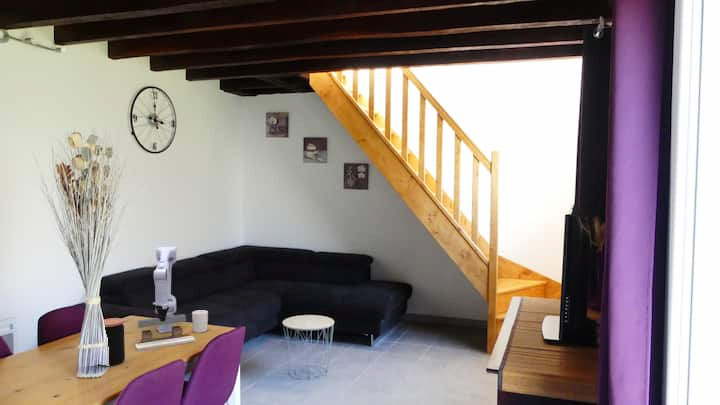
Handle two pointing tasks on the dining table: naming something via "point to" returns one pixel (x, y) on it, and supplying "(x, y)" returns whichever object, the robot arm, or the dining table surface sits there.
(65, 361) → the dining table surface
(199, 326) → the white cup
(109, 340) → the coffee jar
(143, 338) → the rack
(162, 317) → the robot arm
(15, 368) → the dining table surface
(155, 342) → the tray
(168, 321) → the rail
